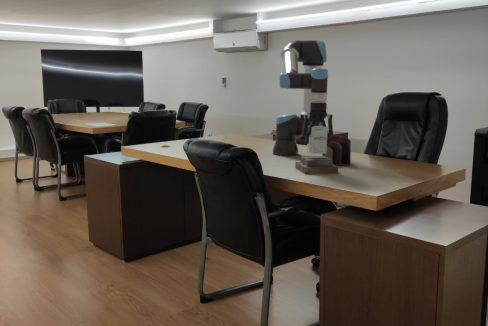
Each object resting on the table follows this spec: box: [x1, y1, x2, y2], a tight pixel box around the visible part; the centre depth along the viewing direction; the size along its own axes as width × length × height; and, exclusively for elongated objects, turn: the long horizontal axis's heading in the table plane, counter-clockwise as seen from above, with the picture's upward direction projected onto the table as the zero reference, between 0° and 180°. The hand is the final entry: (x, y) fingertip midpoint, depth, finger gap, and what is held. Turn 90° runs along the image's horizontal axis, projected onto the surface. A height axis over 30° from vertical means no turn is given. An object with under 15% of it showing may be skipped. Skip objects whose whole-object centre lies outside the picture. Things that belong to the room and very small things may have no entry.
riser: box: [294, 155, 339, 175], centre depth 228 cm, size 16×16×6 cm
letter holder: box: [321, 135, 352, 167], centre depth 250 cm, size 10×20×14 cm, turn 5°
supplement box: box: [306, 126, 329, 155], centre depth 226 cm, size 7×7×13 cm
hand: (316, 150), depth 227 cm, fingers closed on supplement box, 7 cm apart
